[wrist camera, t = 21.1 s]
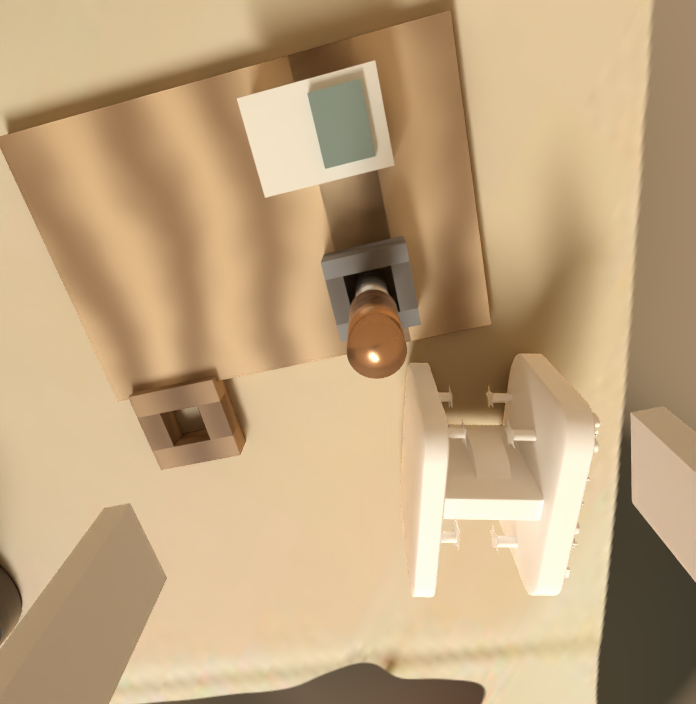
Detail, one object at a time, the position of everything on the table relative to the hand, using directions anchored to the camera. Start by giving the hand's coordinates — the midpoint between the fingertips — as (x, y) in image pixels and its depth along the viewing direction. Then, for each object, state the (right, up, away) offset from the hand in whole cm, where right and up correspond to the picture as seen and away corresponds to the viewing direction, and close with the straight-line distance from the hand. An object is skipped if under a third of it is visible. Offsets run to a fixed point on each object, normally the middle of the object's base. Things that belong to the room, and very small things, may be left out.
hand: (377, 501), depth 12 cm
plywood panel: (-7, +12, +22) cm, 26 cm away
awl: (+1, +9, +22) cm, 24 cm away
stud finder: (-2, +18, +18) cm, 26 cm away
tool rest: (-14, -1, +28) cm, 31 cm away
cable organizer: (+9, -2, +28) cm, 29 cm away
